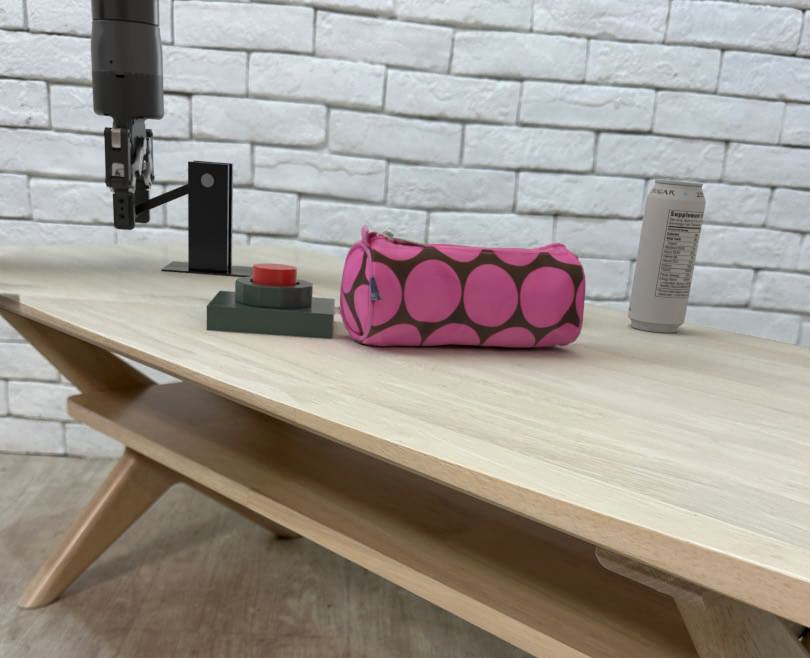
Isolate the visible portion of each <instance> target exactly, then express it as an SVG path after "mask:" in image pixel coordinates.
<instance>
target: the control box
mask: <svg viewBox="0 0 810 658" xmlns="http://www.w3.org/2000/svg"><path fill="white" fill-rule="evenodd" d="M313 293H314V283H313V282H311V281H308V280H305V279H299V278H297V285H294V286H273V285H263V284H257V283H252V276H249V277H236V279H235V281H234V291H229V290H219V291H218V292H217V293H216V294H215V295H214V296H213V298H212V299H211V300H210V301H209V303H207V304H206V331H212V332H224V333H225V332H227V333H240V334H241V333H242V334H255V335H257V334H258V335H269V336H270V335H271V336H272V335H273V336H287V337H299V338H314V339H327V340H328V339H330V340H332V339H333V334H334V326H335V325H334V324H335V309H336V306H335V305H336V298H331V297H330V298H327V297H313Z"/></svg>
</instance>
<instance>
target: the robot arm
mask: <svg viewBox="0 0 810 658" xmlns="http://www.w3.org/2000/svg"><path fill="white" fill-rule="evenodd" d="M90 9H91V10H90V11H91V34H90V63H91V65H90V66H91V85H92V86H91V87H92V107H93V108H92V109H93V112H94V114H95V115H97V116H101V117H109V118H112V127H109V126H105V127H104V130H103V137H104V170H105V171H104V173H105V174H104V175H105V178H104V183H105V187H106V188H108V189H109V191H110V193H112V213H113V214H112V215H113V226H114V228H115V229H116V230H122V231H132V230H135V229H136V224H148V223H149V222H151V209H150V210H148V211H145V212H143V213H141V215H140V216H139V217H136V218H135V204H136V205H137V204H140V203H142V202H144V201H147V200H149V199H151V198H150V197H151V196H150V195H151V194H150V190H152V187H153V184H154V183H155V180H156V178H155V177H156V176H155V167H154V166H155V165H154V141H153V140H154V132H153V129H152V128H146V123H145V122H146V121H147V120H155V121H156V120H158V121H160V120H162V119H163V118H164V116H165V102H164V101H165V98H164V97H165V95H164V94H165V93H164V54H163V53H164V52H163V51H164V50H163V44H162V36H161V28H160V26H161V24H160V23H161V19H160V17H161V16H160V15H161V14H160V0H90Z"/></svg>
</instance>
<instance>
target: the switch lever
mask: <svg viewBox="0 0 810 658" xmlns="http://www.w3.org/2000/svg"><path fill="white" fill-rule="evenodd" d="M186 195H187V196H188V183H186V184H183V185H181V186H178V187H177V188H174V189H172V190H169V191H167V192H164V193H161V194H159V195H157V196H154V197H152V198H150V199H149V200H147V201H144V202H142V203H140V204H137V205H136V204H135V218H136V217H139V216H140V215H141V213H143V212H145V211H148V210H150V211H151V210H152V209H155V208H158V207H160V206H162V205H165V204H167V203H170V202H172V201H174V200H177V199H179V198H181V197H185V196H186Z"/></svg>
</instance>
